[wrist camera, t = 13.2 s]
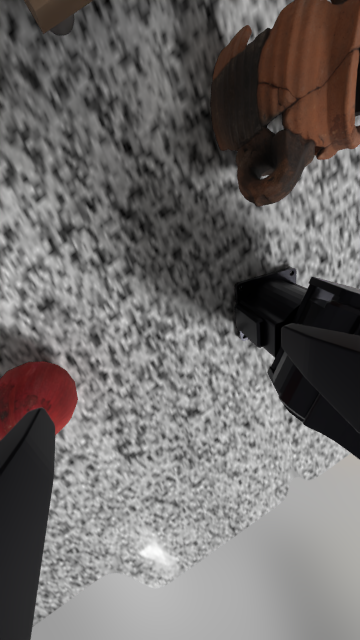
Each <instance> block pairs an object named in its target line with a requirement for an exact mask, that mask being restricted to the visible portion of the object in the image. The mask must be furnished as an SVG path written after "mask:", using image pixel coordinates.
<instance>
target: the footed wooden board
mask: <svg viewBox="0 0 360 640" xmlns="http://www.w3.org/2000/svg"><path fill="white" fill-rule="evenodd" d="M24 1H25V3H26V5H27V7H28V8H29V10H30V12H31V13H32V15H33V17H34V19H35V20H36V22H37V24H38V25H39V27H40V29H41V31H42V32H43V34H44V33H46V32H47V31H49V30H50V31H51V32H53V33H55V34H57V35H66V34H68V33H69V32H70V31H71V30H72V28H73V25H74V13H75V12H77V11H78V10H80V9H81V8H83V7H84V6H86V5H87V4H89V3H90V2H91V1H93V0H24Z"/></svg>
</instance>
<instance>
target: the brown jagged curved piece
mask: <svg viewBox="0 0 360 640" xmlns="http://www.w3.org/2000/svg"><path fill="white" fill-rule="evenodd" d="M251 33H252V30H251V28H250V26H249V25H246V26H244V27H243V28H242V29H241V30H240V31H239V32H238V33H237V34H236V35H235V36H234V38H233V39H232V40H231V41H230V43H229V44H228V45H227V46H226V47H225V48H224V49H223V50H222V51H221V53H220V55H219V57H218V59H217V62H216V65H215V69H214V74H213V82H212V86H211V102H210V106H211V115H212V116H211V119H212V125H213V130H214V133H215V136H216V140H217V143H218V145H219V147H220V150H222V151H225V150H231V151H233V150H235V151H238V152H237V155H236V163H237V166H238V170H237V178H238V185H239V189H240V192H241V193H242V195H243V196H244V198H245V199H247V200H248V201H250V202H252V203H254V204H255V205H256V206H263V205H269V204H273V203H276V202H278V201H280V200H281V199H283V198H284V197H286V196H287V195H288V194H289V193H290V192H291V191H292V189H293V188H294V187H295V185H296V183H297V182H298V180H299V178H300V176H301V174H302V172H303V170H304V168H305V167H306V166H307V165H308V164H309V163H311V161H312V160H313V158H314V155H316V157H317V159H319V160H325V159H329V158H331V157H332V156H333V155H335V154H336V153H337V151H339V150H342V149H346V148H348V149H354V148H356V147H357V146H358V145H359V144H360V126H355V125H354V124H355V116H358V115H360V0H331V2H329V1H327V0H295V1H294V2H292V3H290V4H289V5H287V6H286V7H285V8H284V9H283V10H282V11H281V12H280V14H279V16H278V18H277V20H276V22H275V24H274V26H273V28H272V29H270V28H267V29H266V30H265V31H264V32H262V33H260V34H259V35H258V36H257V37H256V38H255V40H254V41H253V42H251V43H250V44H248V45H247V42H248V40H249V37H250V35H251ZM280 114H282V124H283V127H284V130H281V131H279V132H277V133H276V134H274V133H273V132H271V131H270V130H269V129H268V128H267V125H268V124H269V123H270V122H271V121H272V120H273V119H275V118H276V117H277V116H278V115H280ZM265 175H269V176H268V177H266V178H264V179H261V180H260V177H261V176H265Z"/></svg>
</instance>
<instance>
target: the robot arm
mask: <svg viewBox="0 0 360 640" xmlns="http://www.w3.org/2000/svg"><path fill="white" fill-rule="evenodd" d="M291 271H292V272H291ZM290 272H291V274H290ZM309 284H310V285H309V287H308V289H307V288H305V287H302V286H300V285H297V284H296V269H294V268H291V267H290V268H286V269H283V270H279V271H276V272H272V273H269V274H265V275H262V276H259V277H255V278H252V279H248V280H245V281H241V282H238V283H237V284H236V285H235V297H236V305H235V318H236V327H237V329H238V332H239V338H240V339H241V340H243V341H245V340H248V339H249V340H250V341H251V342H253V343H254V344H255V345H256V346H257V347H259V348H261V347H264V348H265V349H266V350H267V351H268V352H269V353H270V354H271V355H273V356H274V357H275V360H274V362H273V364H272V366H271V367H269V370H268V372H267V373H268V375H269V377H270V379H271V381H272V383H273V385H274V387H275V389H276V391H277V393H278V395H279V398H280V400H281V402H282V403H283V404H284V406H285V407H286V409H287V410H288V411H289V412H290V413H291V414H292V415H294V416H295V417H296V418H298V419H299V420H300V421H302V422H303V424H304V425H305V426H307V427H309V428H311V429H313V430H315V431H318V432H320V433H322V434H323V435H325V436H327V437H329V438H330V439H332V440H334V441H335V442H337V443H338V444H340V445H341V446H342V447H344V448H345V449H347V450H348V451H349V452H351V453H352V454H353V455H355V456H356V457H357V458H359V459H360V289H357V288H353V287H349V286H346V285H342V284H338V283H334V282H331V281H327V280H323V279H319V278H315V277H311V279H310V281H309ZM240 286H242V288H241V289H240V290H239V287H240ZM243 335H245V336H244V337H243ZM54 461H55V425H54V422H53V421H52V419H51V418H50V416H49V415H48V413H47V412H46V410H45V409H44V408H41V407H40V408H37V409H34V410H31V411H29V412H27V413H26V414H25V415H24V417H23V418H22V419H21V420H20V421H19V422H18V423H17V424H16V425H15V426H14V427H13V428H12V429H11V430H10V431H9V432H8V433H7V434H6V435H5V436H4V437H3V439H2V440H1V441H0V640H30V639H31V632H32V625H33V618H34V611H35V604H36V597H37V590H38V583H39V576H40V569H41V562H42V556H43V549H44V542H45V535H46V528H47V521H48V514H49V507H50V500H51V493H52V486H53V478H54Z"/></svg>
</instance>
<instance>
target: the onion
mask: <svg viewBox="0 0 360 640" xmlns="http://www.w3.org/2000/svg"><path fill="white" fill-rule="evenodd" d="M77 400H78V397H77V392H76V386H75V382H74V380H73V379H72V378H71V376H70V375H69V374H68V372H67V371H66V370H64V369H63V368H61V367H60V366H58V365H56V364H52V363H48V362H44V361H41V362H28V363H25V364H23V365H20V366H18V367H16V368H13V369H11V370H9V371H7V372H6V373H5V374H4V376H3V377H2V378H1V379H0V441H1V440H2V439H3V437H4V436H5V435H6V434H7V433H8V432H9V431H10V430H11V429H12V428H13V427H14V426H15V425H16V424H17V423H18V422H19V421H20V420H21V419H22V418H23V417H24V415H25V414H26V413H27V412H29V411H31V410H34V409H37V408H40V407H41V408H44V409H45V410H46V412H47V413H48V415H49V416H50V418H51V419H52V421H53V422H54V425H55V435H56V434H57V433H58V432H59V431H60V430H61V429H62V428H63V427H64V426H65V425H66V424H67V423H68V422H69V420H70V419H71V417H72V415H73V412H74V409H75V407H76V404H77Z"/></svg>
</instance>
